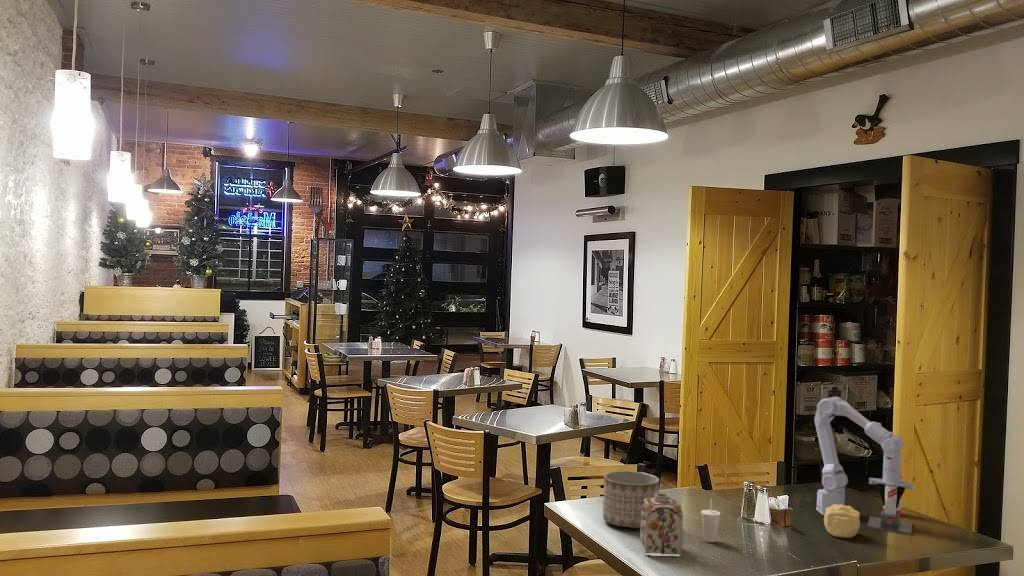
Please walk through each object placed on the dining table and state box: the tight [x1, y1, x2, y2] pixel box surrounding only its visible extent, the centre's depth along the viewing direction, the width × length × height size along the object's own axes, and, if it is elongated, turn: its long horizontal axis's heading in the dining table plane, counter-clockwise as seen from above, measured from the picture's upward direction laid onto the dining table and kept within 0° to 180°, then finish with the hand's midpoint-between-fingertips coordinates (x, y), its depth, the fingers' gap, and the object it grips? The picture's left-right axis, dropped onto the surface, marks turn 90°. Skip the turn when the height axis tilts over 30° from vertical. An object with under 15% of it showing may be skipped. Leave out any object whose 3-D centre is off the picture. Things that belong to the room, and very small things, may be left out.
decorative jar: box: [639, 492, 684, 555], centre depth 245 cm, size 12×12×18 cm
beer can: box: [882, 472, 903, 515], centre depth 295 cm, size 6×6×16 cm
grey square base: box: [867, 510, 913, 536], centre depth 279 cm, size 14×14×4 cm
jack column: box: [884, 499, 896, 517], centre depth 279 cm, size 4×4×7 cm
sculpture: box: [823, 504, 861, 539], centre depth 267 cm, size 11×12×11 cm
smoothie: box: [700, 498, 721, 541], centre depth 256 cm, size 6×6×14 cm
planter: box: [602, 470, 660, 529], centre depth 272 cm, size 19×19×16 cm
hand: (890, 506), depth 279 cm, fingers closed on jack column, 4 cm apart
